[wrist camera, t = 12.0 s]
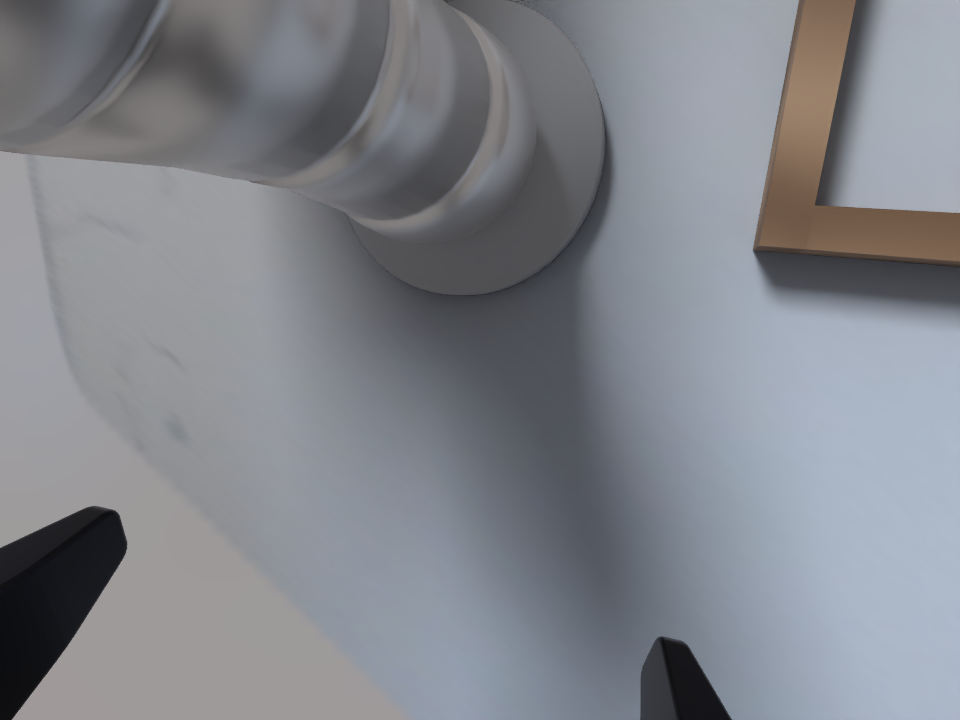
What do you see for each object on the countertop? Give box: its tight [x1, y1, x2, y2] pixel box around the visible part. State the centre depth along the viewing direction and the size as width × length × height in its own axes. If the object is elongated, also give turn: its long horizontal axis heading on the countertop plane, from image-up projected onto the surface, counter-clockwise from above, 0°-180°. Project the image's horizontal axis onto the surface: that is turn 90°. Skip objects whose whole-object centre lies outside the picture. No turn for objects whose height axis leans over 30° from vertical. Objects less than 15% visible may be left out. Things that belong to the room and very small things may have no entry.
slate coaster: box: [347, 0, 606, 295], centre depth 20 cm, size 10×10×1 cm
